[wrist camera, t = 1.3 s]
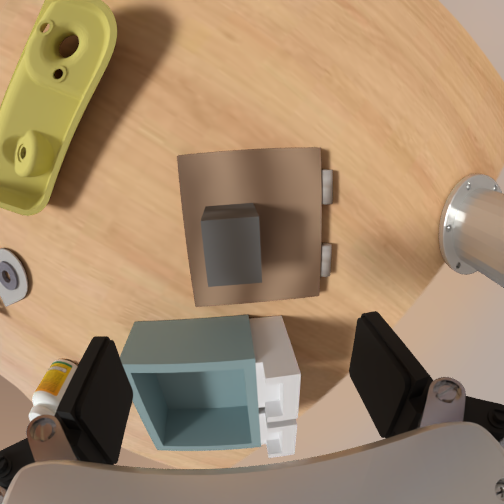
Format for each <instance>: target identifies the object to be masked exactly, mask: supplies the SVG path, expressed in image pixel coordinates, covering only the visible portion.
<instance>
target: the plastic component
mask: <svg viewBox="0 0 504 504" xmlns="http://www.w3.org/2000/svg"><path fill="white" fill-rule="evenodd" d="M47 24H50V28H49V30H48V31H47V32H45V33H43V31H44V29H45V28H46V26H47ZM72 35H76V36H78V38H79V46H78V49H77V50H76V52H75V53H74V54H73V55H71V56H70V57H67V58H64V57H62V56H61V55H60V52H59V47H60V44H61V42H62V41H63V40H64V39H65V38H67V37H69V36H72ZM116 39H117V24H116V20H115V17H114V15H113V13H112V11H111V10H110V8H109V7H108V6H107V5H106V4H105V3H104V2H103V1H101V0H45V1H44V4H43V6H42V9H41V11H40V13H39V16H38V18H37V20H36V23H35V25H34V27H33V29H32V32H31V34H30V36H29V39H28V41H27V43H26V45H25V48H24V50H23V52H22V55H21V57H20V59H19V62H18V64H17V66H16V69H15V71H14V74H13V76H12V78H11V81H10V83H9V86H8V88H7V91H6V93H5V96H4V98H3V101H2V104H1V107H0V208H3V209H6V210H9V211H12V212H15V213H18V214H21V215H27V216H29V215H34V214H37V213H39V212H40V211H42V210H43V209H44V208H45V206H46V205H47V203H48V201H49V199H50V196H51V193H52V191H53V188H54V185H55V182H56V179H57V176H58V173H59V171H60V168H61V165H62V163H63V160H64V157H65V155H66V152H67V150H68V147H69V145H70V142H71V140H72V138H73V135H74V133H75V131H76V129H77V126H78V124H79V122H80V120H81V118H82V116H83V114H84V111H85V109H86V107H87V105H88V103H89V101H90V99H91V97H92V95H93V93H94V92H95V90H96V88H97V86H98V84H99V82H100V80H101V77H102V75H103V73H104V71H105V69H106V67H107V65H108V63H109V61H110V58H111V56H112V54H113V50H114V47H115V44H116ZM57 69H61V70H62V71H63V76H62V77H61V78H60V79H56V78H55V77H54V73H55V71H56V70H57ZM25 150H26V156H25Z"/></svg>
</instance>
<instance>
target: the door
mask: <svg viewBox="0 0 504 504" xmlns="http://www.w3.org/2000/svg"><path fill="white" fill-rule="evenodd" d="M177 161H178V172H179V183H180V193H181V202H182V211H183V220H184V229H185V237H186V244H187V252H188V259H189V267H190V274H191V280H192V287H193V293H194V300H195V306H196V307H202V306H216V305H230V304H242V303H254V302H265V301H276V300H286V299H296V298H305V297H314V296H319V292H320V276H321V277H328V276H330V272H331V250H332V245H331V244H329V243H321V227H322V204H332V203H333V174H332V170H329V169H321V148H317V147H308V148H268V149H248V150H232V151H219V152H208V153H197V154H188V155H179V156H177Z"/></svg>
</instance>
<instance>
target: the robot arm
mask: <svg viewBox="0 0 504 504" xmlns="http://www.w3.org/2000/svg"><path fill="white" fill-rule="evenodd" d="M439 245H440V250H441V254H442V257H443V259H444V261H445V263H446V264H447V265H448V266H449V267H450V268H451V269H453V270H454V271H456V272H458V273H460V274H472V273H474V272H476V271H479V272H481V273H482V274H484V275H485V276H487V277H488V278H490V279H491V280H493V281H495V282H496V283H498V284H499V285H500V286H502V287H503V288H504V194H503V193H502V191H501V189H500V187H499V186H498V184H497V183H496V182H495V180H494V179H492V178H491V177H489V176H487V175H483V174H477V173H475V174H470V175H468V176H466V177H464V178H463V179H461V180H460V181H459V182H458V183H457V184H456V185H455V187H454V188H453V189H452V191H451V193H450V194H449V196H448V198H447V200H446V203H445V205H444V208H443V211H442V215H441V219H440V226H439ZM349 373H350V377H351V379H352V381H353V383H354V385H355V387H356V389H357V391H358V393H359V395H360V397H361V399H362V400H363V403H364V404H365V406H366V408H367V410H368V412H369V414H370V416H371V418H372V420H373V422H374V424H375V426H376V428H377V430H378V432H379V434H380V436H381V437H382V438H384V437H385V438H386V439H383V440H380V441H376V442H374V443H370V444H366V445H362V446H359V447H355V448H351V449H347V450H343V451H339V452H335V453H331V454H326V455H322V456H317V457H311V458H307V459H301V460H296V461H289V462H283V463H276V464H268V465H259V466H250V467H238V468H222V469H155V468H140V467H128V466H117V465H114V464H116V463H117V461H118V458H119V454H120V449H121V445H122V440H123V436H124V432H125V428H126V423H127V419H128V415H129V411H130V408H131V404H132V400H133V390H132V387H131V385H130V382H129V380H128V377H127V375H126V372H125V370H124V367H123V365H122V362H121V359H120V357H119V354H118V351H117V349H116V346H115V343H114V341H113V340H110V339H109V337H93V339H92V340H91V342H90V344H89V346H88V348H87V350H86V352H85V353H84V355H83V357H82V359H81V361H80V363H79V365H78V367H77V369H76V371H75V373H74V375H73V377H72V379H71V381H70V383H69V385H68V387H67V389H66V391H65V393H64V395H63V397H62V399H61V401H60V403H59V406H58V408H57V410H56V413H55V415H54V416H52V415H40V416H37V417H36V418H34V419H33V420H32V421H31V422H30V423H29V425H28V426H27V431H26V434H27V438H26V439H24V440H22V441H20V442H18V443H16V444H14V445H12V446H9V447H7V448H5V449H3V450H1V451H0V504H504V405H502V404H498V403H493V402H489V401H485V400H480V399H476V398H472V397H468V396H466V393H465V389H464V387H463V385H462V384H461V383H460V382H459V381H457V380H455V379H452V378H449V377H441V378H438V379H436V380H434V381H433V380H432V378H431V377H430V375H429V374H428V373H427V372H426V370H425V369H424V368H423V367H422V365H421V364H420V363H419V362H418V360H417V359H416V358H415V357H414V355H413V354H412V353H411V352H410V350H409V349H408V348H407V347H406V345H405V344H404V343H403V342H402V340H401V339H400V338H399V337H398V336H397V334H396V333H395V332H394V331H393V330H392V328H391V327H390V326H389V325H388V324H387V322H386V321H385V320H384V319H383V318H382V317H381V315H380V314H379V313H378V312H376V311H375V312H369V313H363V314H362V316H361V318H358V320H357V326H356V332H355V339H354V345H353V351H352V357H351V362H350V368H349Z"/></svg>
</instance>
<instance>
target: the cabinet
mask: <svg viewBox="0 0 504 504" xmlns="http://www.w3.org/2000/svg"><path fill="white" fill-rule="evenodd" d="M120 359H121V362H122V365H123V367H124V370H125V372H126V375H127V377H128V380H129V382H130V385H131V387H132V390H133V403H134V405H135V407H136V409H137V411H138V413H139V415H140V417H141V419H142V421H143V424H144V426H145V427H146V429H147V431H148V433H149V435H150V437H151V439H152V441H153V443H154V445H155V447H156V448H157V450H171V451H205V450H229V449H243V448H254V447H261V445H262V444H266V445H267V451H268V457H269V458H271V457H278V456H286V455H292V454H294V453H295V452H294V451H295V443H296V432H297V422H296V419H297V418H298V408H299V395H300V380H301V373H300V370H299V367H298V364H297V361H296V358H295V355H294V351H293V348H292V345H291V342H290V339H289V336H288V333H287V330H286V327H285V324H284V321H283V318H282V315H280V316H271V317H261V318H250V319H249V316H248V315H238V316H226V317H213V318H199V319H183V320H165V321H141V322H134V325H133V327H132V329H131V332H130V334H129V336H128V339H127V341H126V344H125V346H124V348H123V351H122V353H121V356H120Z"/></svg>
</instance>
